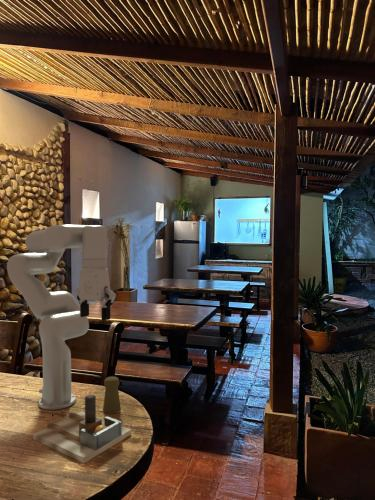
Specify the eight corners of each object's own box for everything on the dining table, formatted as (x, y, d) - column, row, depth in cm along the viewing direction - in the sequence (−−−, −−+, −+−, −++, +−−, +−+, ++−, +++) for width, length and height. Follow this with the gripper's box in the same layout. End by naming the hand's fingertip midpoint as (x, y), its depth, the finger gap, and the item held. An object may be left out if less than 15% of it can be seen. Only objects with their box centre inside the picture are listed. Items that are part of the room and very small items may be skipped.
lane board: (33, 438, 114) (32, 428, 114) (81, 415, 129) (81, 406, 129) (84, 463, 102) (83, 452, 102) (131, 434, 117) (130, 424, 117)
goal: (80, 444, 109) (80, 430, 108) (106, 429, 117) (106, 416, 117) (95, 450, 105) (95, 436, 105) (121, 435, 113) (121, 421, 113)
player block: (79, 436, 113) (78, 398, 112) (92, 428, 117) (92, 392, 116) (88, 440, 110) (88, 401, 110) (101, 432, 114) (101, 395, 114)
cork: (116, 414, 130) (116, 381, 130) (99, 412, 131) (99, 380, 131) (123, 406, 136) (123, 375, 136) (107, 404, 137) (106, 374, 137)
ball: (103, 438, 108) (96, 445, 109) (113, 432, 111) (106, 439, 113) (95, 425, 109) (89, 432, 111) (106, 420, 113) (99, 427, 114)
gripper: (67, 264, 125) (67, 317, 126) (105, 266, 116) (105, 323, 116) (85, 262, 131) (85, 313, 132) (123, 264, 122) (123, 319, 122)
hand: (95, 318), depth 124 cm, fingers open, 9 cm apart
